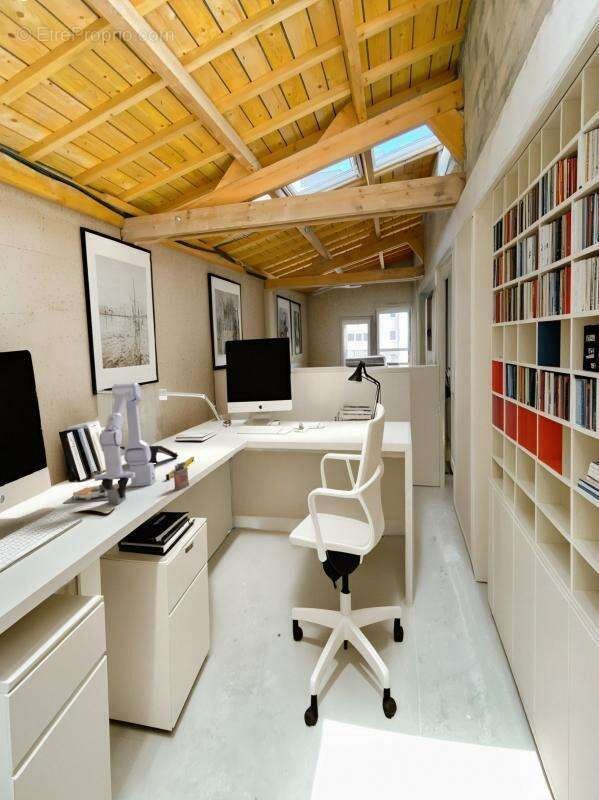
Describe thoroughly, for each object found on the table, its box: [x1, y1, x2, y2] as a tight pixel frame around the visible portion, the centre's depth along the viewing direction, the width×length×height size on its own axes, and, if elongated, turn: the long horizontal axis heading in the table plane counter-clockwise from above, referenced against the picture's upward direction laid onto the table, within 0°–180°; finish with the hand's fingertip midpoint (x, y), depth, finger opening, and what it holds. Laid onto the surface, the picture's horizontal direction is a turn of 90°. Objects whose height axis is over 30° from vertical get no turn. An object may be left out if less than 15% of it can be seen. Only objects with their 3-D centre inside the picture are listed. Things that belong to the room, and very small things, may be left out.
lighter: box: [173, 461, 190, 491], centre depth 186 cm, size 8×3×10 cm, turn 160°
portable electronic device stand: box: [120, 445, 179, 464], centre depth 237 cm, size 23×23×9 cm
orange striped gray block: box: [107, 483, 127, 507], centre depth 172 cm, size 4×8×6 cm, turn 1°
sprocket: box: [72, 483, 108, 500], centre depth 183 cm, size 17×17×4 cm
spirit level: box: [165, 456, 195, 481], centre depth 215 cm, size 33×1×3 cm, turn 174°
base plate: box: [62, 485, 128, 505], centre depth 184 cm, size 18×18×1 cm
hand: (117, 497), depth 172 cm, fingers closed on orange striped gray block, 3 cm apart
